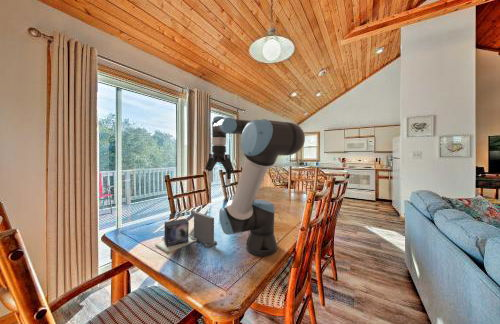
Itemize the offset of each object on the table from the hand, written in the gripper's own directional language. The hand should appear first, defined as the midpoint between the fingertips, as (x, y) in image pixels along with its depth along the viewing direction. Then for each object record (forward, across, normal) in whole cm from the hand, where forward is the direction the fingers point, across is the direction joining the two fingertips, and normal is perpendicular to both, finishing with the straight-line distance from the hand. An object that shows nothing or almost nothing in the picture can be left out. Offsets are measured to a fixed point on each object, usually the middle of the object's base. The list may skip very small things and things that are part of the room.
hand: (218, 183), depth 109 cm
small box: (+28, +8, +21) cm, 36 cm away
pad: (+29, +8, +21) cm, 36 cm away
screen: (+29, -1, +12) cm, 31 cm away
